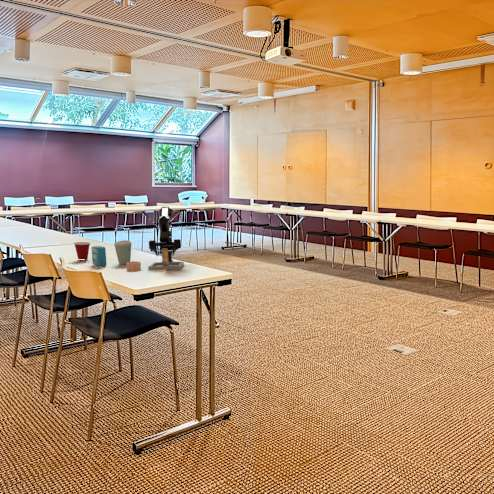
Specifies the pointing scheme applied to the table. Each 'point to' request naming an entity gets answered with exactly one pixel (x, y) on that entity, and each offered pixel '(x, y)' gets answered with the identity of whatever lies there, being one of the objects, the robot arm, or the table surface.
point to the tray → (171, 266)
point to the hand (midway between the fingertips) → (165, 255)
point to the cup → (133, 266)
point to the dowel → (165, 257)
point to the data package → (99, 255)
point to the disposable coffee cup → (123, 251)
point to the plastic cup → (82, 249)
